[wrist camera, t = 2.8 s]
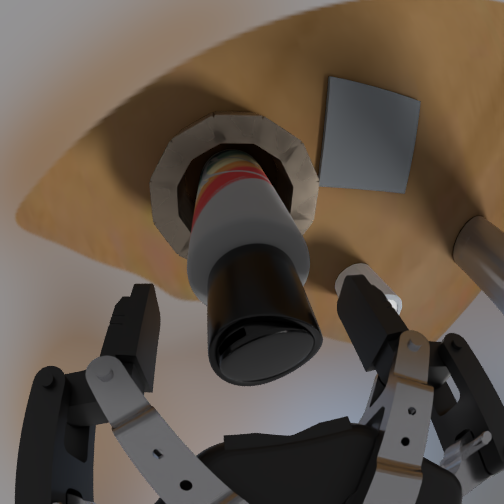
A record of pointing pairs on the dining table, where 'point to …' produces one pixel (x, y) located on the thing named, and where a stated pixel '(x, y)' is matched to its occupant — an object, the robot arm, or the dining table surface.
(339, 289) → the white cylinder
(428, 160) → the dining table surface
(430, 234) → the dining table surface
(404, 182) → the rubber mat
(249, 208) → the lotion bottle
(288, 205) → the collar
